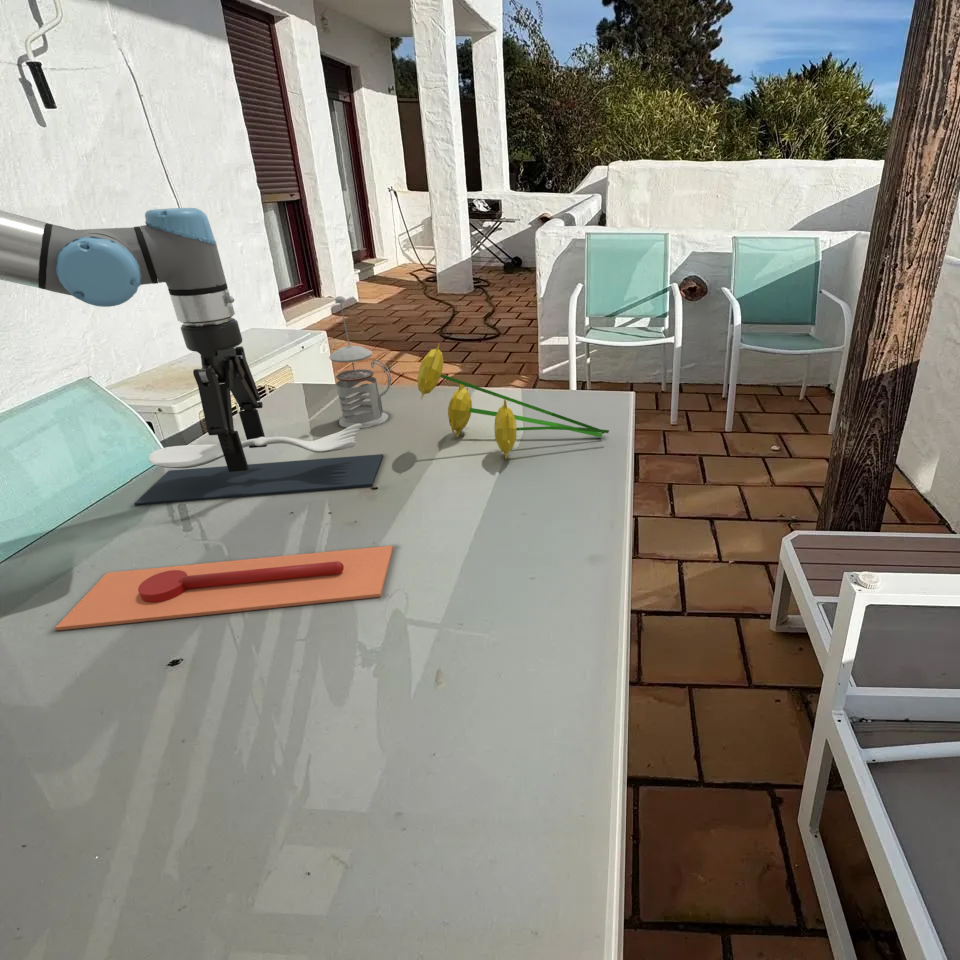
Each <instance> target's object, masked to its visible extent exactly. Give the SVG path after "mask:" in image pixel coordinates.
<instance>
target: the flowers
mask: <svg viewBox="0 0 960 960" xmlns="http://www.w3.org/2000/svg"><path fill="white" fill-rule="evenodd" d="M440 344H441V342H438V345H437V346H436V348H431V349H430V351H428V352H427V354H426V355H424V357H423V359H422V361H421V363H420V366H419V369H418V373H417V377H416V378H417V379H416V381H417V389H418V391H419V392H420V393H421V396H420V397H421V398H420V400H422V399H423V398H424V395H427V394H430V393H431V392H432V391H433V390H434V389H435V388H436V387H437V385H438V384H439V380H440V378H442V379H445V380H448V381H450V382H453V383H456V384H459V386H458V389H457V390H455V391H454V392H453V394H452V395H451V398H450V400H449V403H448V407H447V416H448V417H447V418H448V422H449V426H450V428H451V433H452V435H453V434H454V432H455V434H456V435H455V438H458V437H459V436H460V435H461V433H462V430H464V429H465V428H466V427H467V425H468V423H469V421H470V419H471V416H472V413H473V414H479V415H485V416H490V417H494V425H493V426H494V427H493V428H494V429H493V430H494V438H495V443H496V445H497V446H498V448H499V451H500V452H503V455H504V458H505V460H506V461H507V458H508V454H509V453H510V452H511V451H512V450H513V448H514V446H515V443H516V441H517V432H518V431H542V430H544V431H545V430H552V431H556V430H557V431H571V432H574V433H579V434H584V435H588V436H593V437H597V438H601V439H602V438H603V434H609V432H610V429H602V428H601V429H600V428H599V427H595V426H593V425H590V424H587V423H584V422H580V421H578V420H575V419H573V418H569V417H566V416H563V415H561V414H557V413H555V412H553V411H549V410H546V409H544V408H540V407H537V406H534V405H532V404H529V403H527V402H523V401H521V400H518V399H515V398H511V397H509V396H506V395H503V394H500V393H498V392H494V391H492V390H489V389H487V388H483V387H480V386H477V385H475V384H472V383H469V382H466V381H463V380H460V379H457V378H455V377H451V376H449V375H446V374H443V373H442V372H443V367H444V356H443V352H442V351H441V350H440ZM465 387H466V388H465ZM469 388H470V389H474V390H476V391H479V392H482V393H485V394H488V395H490V396H493V397H497V398H499V399H503V404H502V405H501V407H499V408H498V410H497V411H494V410H486V409H480V408H474V407H473V404H472V398H471V394H470V392H469ZM507 402H511V403H514V404H517V405H520V406H523V407H525V408H528V409H531V410H534V411H537V412H539V413H540V412H541V413H542V414H546V415H548V416H551V417H554V418H557V419H560V420H563V421H566V422H569V423H572V424H575V425H577V426H572V425H567V424H563V423H558V422H553V421H548V420H543V419H537V418H533V417H527V416H523V415H517V414H514V413H513V410H512V409H511V408H510V407H509V406H507V405H508V403H507ZM517 421H521V422H526V423H530V424H536V425H542V426H526V427H525V426H524V427H523V426H522V427H517ZM579 426H580V427H579Z"/></svg>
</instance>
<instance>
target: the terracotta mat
mask: <svg viewBox="0 0 960 960" xmlns="http://www.w3.org/2000/svg"><path fill="white" fill-rule="evenodd" d="M393 550H394V546H393V545H383V546H374V547H362V548H351V549H342V550H341V549H340V550H332V551H321V552H320V551H319V552H311V553H300V554H299V553H298V554H290V555H288V554H287V555H279V556H278V555H277V556H267V557H258V558H257V557H256V558H247V559H246V558H245V559H236V560H226V561H215V562H205V563H195V564H183V565H173V566H162V567H151V568H141V569H132V570H119V571H110V572H109V571H107V572H106V573H105V574H104V575H103V576H102V577H101V578H100V579H99V580H98V582H96V583H95V585H94V586H92V588H91V589H90V590H89V591H88V592H87V593H86V594H85V595H84V596H83V597H82V598H81V599H80V600H79V602H78V603H77V604H76V605H74V607H73V608H72V609H71V610H70V611H69V612H68V613H67V614H66V615H65V616H64V618H63V619H62V620H61V621H60V622H59V623H58V624H57V625H56V626H55V630H56V631H66V630H76V629H85V628H87V629H88V628H96V627H105V626H106V627H107V626H113V625H124V624H132V623H145V622H152V621H153V622H154V621H162V620H173V619H182V618H191V617H201V616H211V615H219V614H229V613H230V614H231V613H238V612H239V613H240V612H250V611H258V610H259V611H260V610H267V609H278V608H287V607H298V606H304V605H305V606H306V605H315V604H316V605H317V604H325V603H336V602H344V601H345V602H346V601H353V600H364V599H373V598H381V596H382V593H383V589H384V585H385V581H386V577H387V574H388V570H389V566H390V563H391V562H390V561H391V559H392V558H391V557H392V555H393ZM336 561H339V562H341V563H342V564H343V566H344V569H343V571H342V572H341V573H339V574H332V575H322V576H312V577H302V578H292V579H282V580H272V581H262V582H252V583H242V584H231V585H221V586H211V587H201V588H191V589H187V590H186V591H185V592H183V593H182V594H180V595H179V596H177V597H175V598H172V599H170V600H166V601H163V602H157V603H149V602H145V601H143V600H142V599H141V596H140V594H139V591H138V587H139V586H140V584H141V583H142V582H143V581H145V580H146V579H148V578H149V577H151V576H153V575H156V574H158V573H161V572H165V571H170V570H181V571H184V572H186V573H187V575H188V576H191V575H201V574H212V573H222V572H232V571H243V570H253V569H263V568H274V567H284V566H294V565H305V564H315V563H325V562H336Z"/></svg>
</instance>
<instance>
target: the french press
mask: <svg viewBox="0 0 960 960" xmlns="http://www.w3.org/2000/svg"><path fill="white" fill-rule="evenodd" d="M334 302H335V304H340V309H341V314H342V319H343V324H344V325H343V326H344V329H345V330H344V331H345V334H346V339H347V340H346V341H347V343H348V344H347V345H346V346H343V347H341V348H339V349H337V350H335V351H334V352H332V353H331V354H330V355H329V357H328V359H329V360H330V361H332V362H334V363H351V364H352V369H350V370H345V371H341V372H338V373H337V374H336V376H335V379H337V380H338V381H337V382H336V383H335V386H336V390H337V396H338V400H339V405H340V409H341V414H342V417H341V418H340V419H339V422H338V425H339V426H341V427H343V428H345V429H346V428H348V427H350V426H352V425H354V424H362V428H361V429H366V428H370V427H371V428H372V427H374V426H379V425H381V424H383V423H385V422H386V421H387V420H388V419H389V415H388V414H387V413H386V412H384V409H383V402H382V397H383V396H385V395H386V394H387V392H388V391H389V389H390V388H391V384H392V377H391V372H390V369H389V368H388V367H387V365H386V364H385V363H383V361H381V360H378V359H376V358H375V359H373V360H372V361H371V363H370V365H371V368H372V369H374V368H375V365H378V366H380V367H381V368H382V369H383V371H384V372H385V374H386V376H387V387H386V389H385V390H384V391H382V392H379V386H378V382H377V378H376V377H374V371H373V370H372V369H366V368H358V369H356V368H355V366H354V363H355V362H361V361H364V360H367V359H369V358H371V357H372V355H373V351H372V350H370V349H368V348H366V347H364V346H359V345H350V340H349V334H348V329H347V324H346V320H345V315H344V309H343V305H342V304H344V303H346V302H347V301H346V298H345V297H344V296H342V295H337V296H336V297H335V298H334ZM366 381H367V382H370V383H363V382H366ZM360 383H362V384H360ZM358 384H360V385H359V386H356V385H358ZM355 386H356V387H355ZM353 394H355V395H353ZM367 394H369V395H367ZM352 395H353V396H352ZM349 396H350V397H349ZM365 400H366V401H365ZM368 400H369V401H368Z"/></svg>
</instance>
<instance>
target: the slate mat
mask: <svg viewBox="0 0 960 960" xmlns="http://www.w3.org/2000/svg"><path fill="white" fill-rule="evenodd" d="M383 459H384V453H379V454H366V455H365V454H364V455H355V456H353V455H352V456H342V457H341V456H340V457H327V458H316V459H301V460H289V461H287V460H286V461H275V462H263V463H250V464H249V463H247V464H248V468H249V469H248V470H247V471H234V472H229V470H228V467H227V465H224V466H212V467H211V466H209V467H199V468H198V467H197V468H196V467H195V468H182V469H173V470H171V469H169V470H168V471H167V472H166V473H164V474H163V475H162V476H161V477H160V478H159V479H158V480H157V481H156V482H155V483H154V484H153V485H152V486H151V487H149V489H147V491H146V492H144V494H142V495H141V496H140V497H139V498H138V499H137V500H136V501H135V502H134V504H133V505H134V506H135V507H139V506H153V505H165V504H175V503H189V502H201V501H212V500H225V499H237V498H238V499H239V498H249V497H259V496H261V497H262V496H273V495H284V494H285V495H286V494H295V493H296V494H298V493H309V492H321V491H332V490H345V489H346V490H347V489H358V488H368V487H373V486H374V484H375V480H376V477H377V475H378V472H379V470H380V467H381V464H382V462H383Z"/></svg>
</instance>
